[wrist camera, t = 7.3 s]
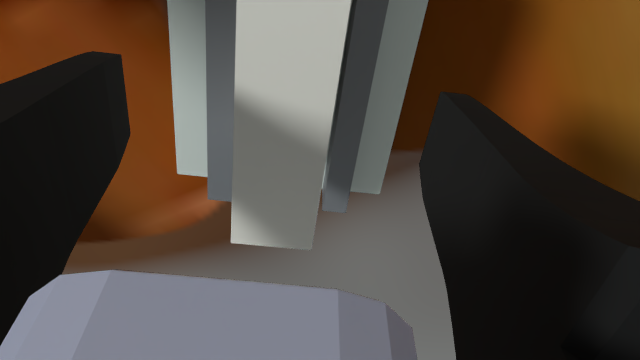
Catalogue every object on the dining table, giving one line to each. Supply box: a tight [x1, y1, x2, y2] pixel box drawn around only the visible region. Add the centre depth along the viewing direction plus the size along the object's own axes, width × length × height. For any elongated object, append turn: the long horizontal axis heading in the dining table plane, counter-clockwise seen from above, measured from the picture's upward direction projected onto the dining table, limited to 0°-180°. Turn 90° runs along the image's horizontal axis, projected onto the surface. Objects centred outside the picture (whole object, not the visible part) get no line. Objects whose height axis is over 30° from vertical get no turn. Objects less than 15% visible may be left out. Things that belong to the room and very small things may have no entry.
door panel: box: [231, 0, 351, 250], centre depth 15 cm, size 2×10×7 cm, turn 173°
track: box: [167, 0, 428, 213], centre depth 17 cm, size 9×16×2 cm, turn 173°
